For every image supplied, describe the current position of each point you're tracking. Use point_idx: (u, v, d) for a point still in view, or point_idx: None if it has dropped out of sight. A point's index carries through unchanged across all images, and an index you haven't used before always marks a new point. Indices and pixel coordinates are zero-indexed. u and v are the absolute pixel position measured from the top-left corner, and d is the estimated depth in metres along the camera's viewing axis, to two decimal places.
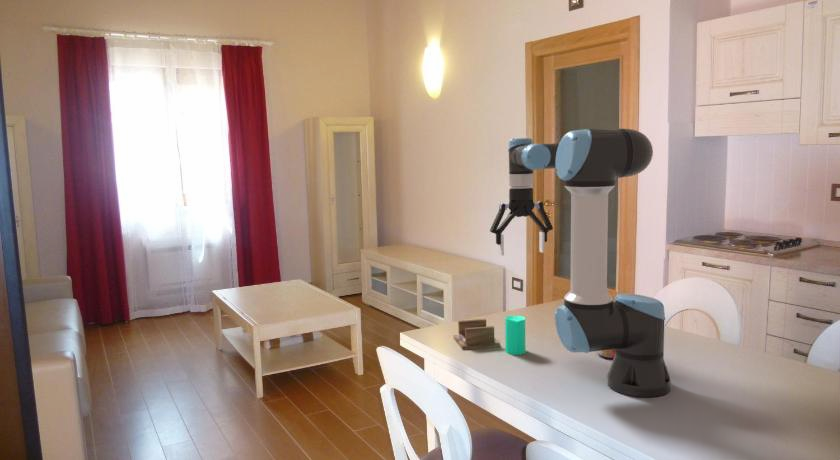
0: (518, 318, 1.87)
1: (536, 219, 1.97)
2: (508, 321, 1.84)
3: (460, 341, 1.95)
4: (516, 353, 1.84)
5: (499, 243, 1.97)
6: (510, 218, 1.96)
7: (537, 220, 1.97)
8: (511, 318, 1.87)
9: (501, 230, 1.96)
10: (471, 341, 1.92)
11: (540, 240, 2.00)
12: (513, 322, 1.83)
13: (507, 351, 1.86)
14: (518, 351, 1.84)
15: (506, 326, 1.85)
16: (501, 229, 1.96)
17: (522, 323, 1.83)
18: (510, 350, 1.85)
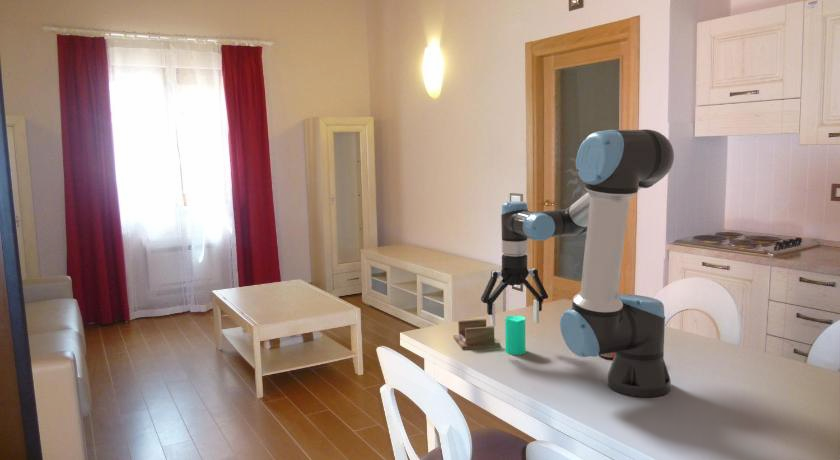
0: (518, 318, 1.87)
1: (530, 288, 1.84)
2: (508, 321, 1.84)
3: (460, 341, 1.95)
4: (516, 353, 1.84)
5: (490, 313, 1.84)
6: (502, 287, 1.83)
7: (531, 289, 1.84)
8: (511, 318, 1.87)
9: (493, 300, 1.83)
10: (471, 341, 1.92)
11: (534, 309, 1.87)
12: (513, 322, 1.83)
13: (507, 351, 1.86)
14: (518, 351, 1.84)
15: (506, 326, 1.85)
16: (493, 299, 1.83)
17: (522, 323, 1.83)
18: (510, 350, 1.85)
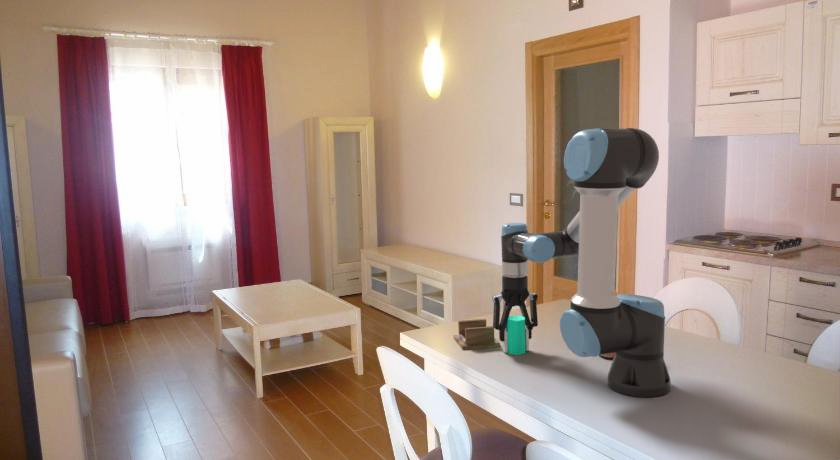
0: (518, 318, 1.87)
1: (525, 312, 1.85)
2: (508, 321, 1.84)
3: (460, 341, 1.95)
4: (516, 353, 1.84)
5: (503, 340, 1.85)
6: (508, 310, 1.84)
7: (526, 313, 1.85)
8: (511, 318, 1.87)
9: (504, 326, 1.84)
10: (471, 341, 1.92)
11: None
12: (513, 322, 1.83)
13: None
14: (518, 351, 1.84)
15: (506, 326, 1.85)
16: (503, 325, 1.84)
17: (522, 323, 1.83)
18: (510, 350, 1.85)
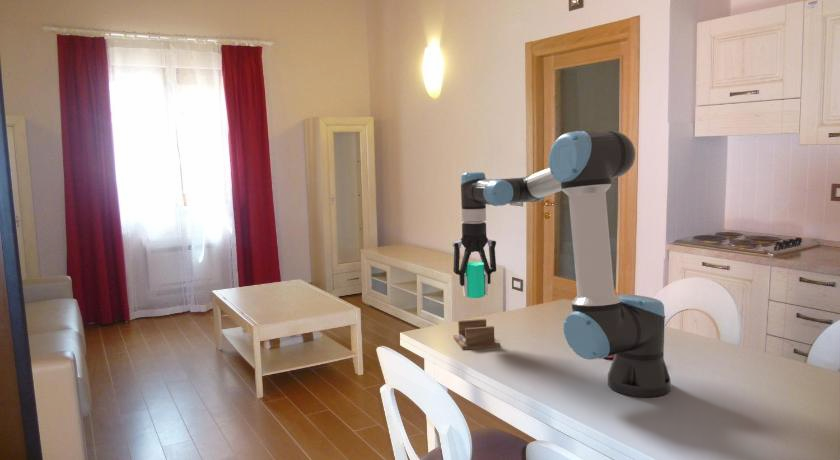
0: (477, 264, 1.95)
1: (484, 258, 1.93)
2: (467, 266, 1.92)
3: (460, 341, 1.95)
4: (475, 296, 1.92)
5: (462, 284, 1.93)
6: (467, 256, 1.92)
7: (484, 259, 1.93)
8: (471, 264, 1.95)
9: (463, 270, 1.92)
10: (471, 341, 1.92)
11: None
12: (472, 266, 1.91)
13: (467, 295, 1.94)
14: (477, 295, 1.92)
15: (466, 271, 1.93)
16: (463, 270, 1.92)
17: (481, 267, 1.92)
18: (470, 294, 1.93)
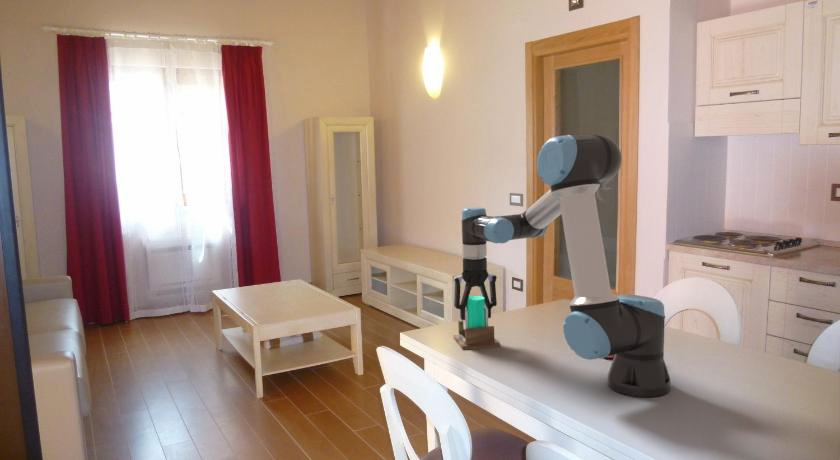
0: (478, 298, 1.96)
1: (484, 292, 1.94)
2: (468, 300, 1.94)
3: (460, 341, 1.95)
4: None
5: (463, 318, 1.95)
6: (468, 291, 1.93)
7: (485, 294, 1.95)
8: (471, 298, 1.97)
9: (464, 305, 1.94)
10: (471, 341, 1.92)
11: None
12: (473, 301, 1.93)
13: None
14: None
15: (466, 305, 1.95)
16: (464, 304, 1.94)
17: (481, 302, 1.93)
18: None
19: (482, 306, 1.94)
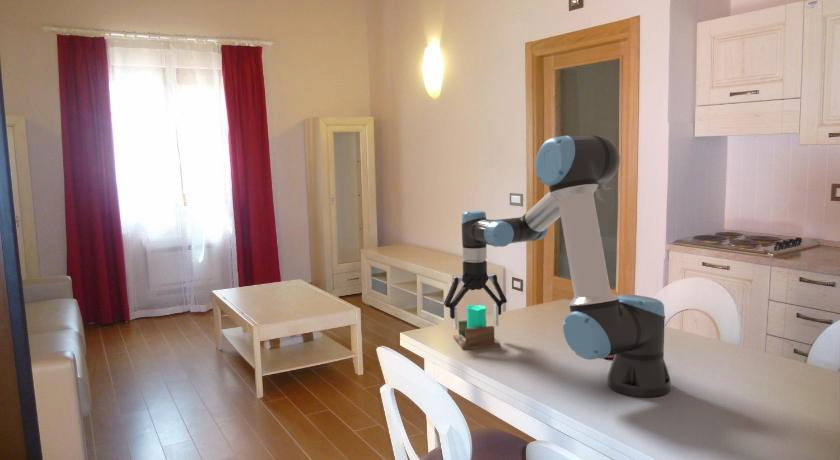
0: (479, 307, 1.97)
1: (490, 292, 1.95)
2: (469, 310, 1.94)
3: (460, 341, 1.95)
4: None
5: (453, 317, 1.94)
6: (463, 292, 1.93)
7: (491, 293, 1.95)
8: (473, 307, 1.97)
9: (455, 304, 1.93)
10: (471, 341, 1.92)
11: (494, 312, 1.98)
12: (473, 311, 1.93)
13: None
14: None
15: (467, 315, 1.95)
16: (455, 303, 1.93)
17: (482, 312, 1.93)
18: None
19: (483, 316, 1.94)
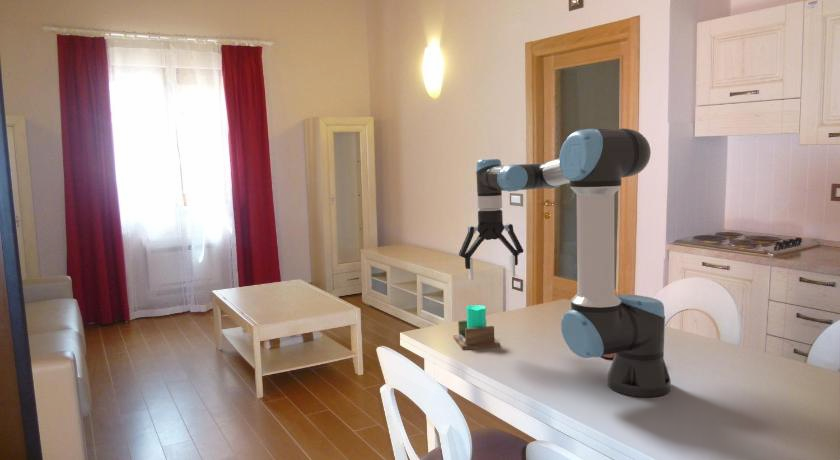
0: (479, 307, 1.97)
1: (506, 242, 1.92)
2: (469, 310, 1.94)
3: (460, 341, 1.95)
4: None
5: (468, 267, 1.90)
6: (479, 241, 1.90)
7: (507, 243, 1.92)
8: (472, 307, 1.97)
9: (470, 254, 1.90)
10: (471, 341, 1.92)
11: (510, 263, 1.94)
12: (473, 311, 1.93)
13: None
14: None
15: (467, 315, 1.95)
16: (470, 253, 1.90)
17: (482, 312, 1.94)
18: None
19: (483, 316, 1.94)
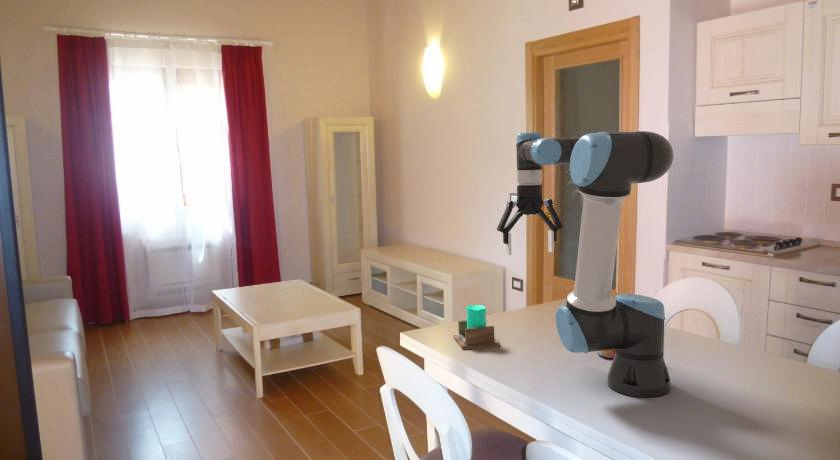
0: (479, 307, 1.97)
1: (545, 217, 1.89)
2: (469, 310, 1.94)
3: (460, 341, 1.95)
4: None
5: (506, 242, 1.88)
6: (518, 216, 1.87)
7: (546, 218, 1.89)
8: (472, 307, 1.97)
9: (509, 229, 1.87)
10: (471, 341, 1.92)
11: (549, 239, 1.92)
12: (473, 311, 1.93)
13: None
14: None
15: (467, 315, 1.95)
16: (509, 228, 1.87)
17: (482, 312, 1.94)
18: None
19: (483, 316, 1.94)
